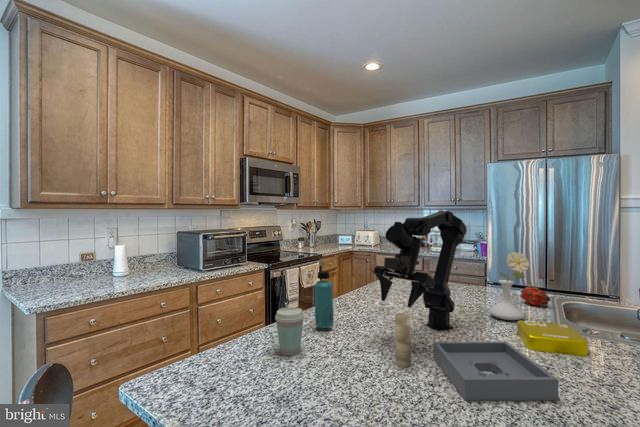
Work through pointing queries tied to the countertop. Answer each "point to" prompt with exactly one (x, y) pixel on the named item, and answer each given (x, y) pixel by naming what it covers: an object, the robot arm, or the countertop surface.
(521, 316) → the flower in vase
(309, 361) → the countertop surface
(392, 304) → the white ring with post
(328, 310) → the beverage bottle
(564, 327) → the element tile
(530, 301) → the dragon fruit
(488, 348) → the charcoal box
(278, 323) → the coffee cup
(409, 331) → the birch peg
